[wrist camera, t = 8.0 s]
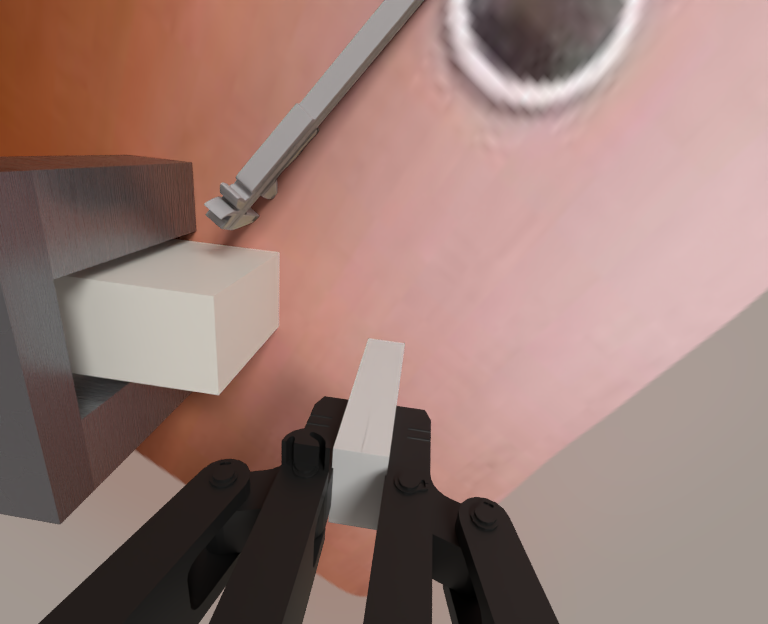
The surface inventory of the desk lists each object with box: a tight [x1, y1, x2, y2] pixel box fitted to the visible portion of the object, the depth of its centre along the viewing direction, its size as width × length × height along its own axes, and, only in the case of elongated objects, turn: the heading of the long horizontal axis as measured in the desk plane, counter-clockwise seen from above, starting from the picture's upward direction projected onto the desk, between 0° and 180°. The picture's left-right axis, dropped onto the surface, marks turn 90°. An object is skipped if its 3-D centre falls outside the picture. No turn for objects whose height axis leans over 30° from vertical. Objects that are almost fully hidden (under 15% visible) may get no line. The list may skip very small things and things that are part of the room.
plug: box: [54, 239, 280, 395], centre depth 23 cm, size 5×18×8 cm, turn 84°
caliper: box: [204, 0, 424, 230], centre depth 19 cm, size 20×1×6 cm, turn 138°
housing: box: [0, 155, 196, 524], centre depth 21 cm, size 14×4×12 cm, turn 174°
